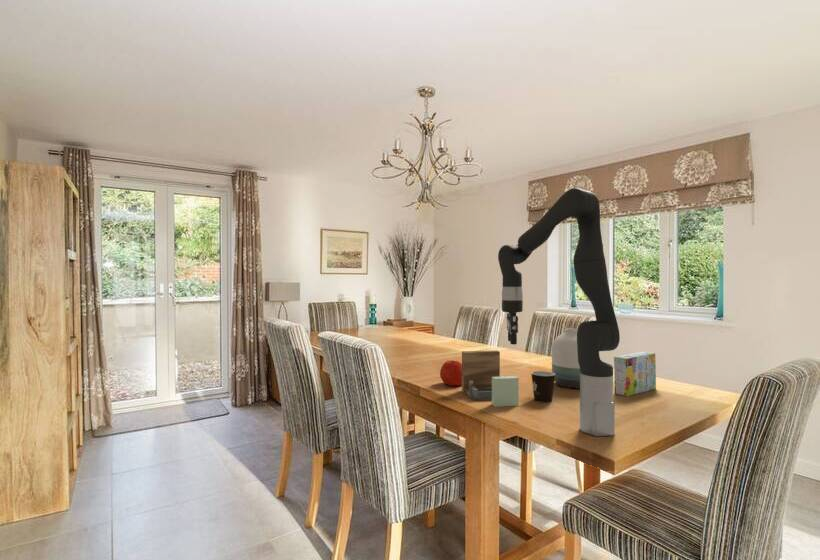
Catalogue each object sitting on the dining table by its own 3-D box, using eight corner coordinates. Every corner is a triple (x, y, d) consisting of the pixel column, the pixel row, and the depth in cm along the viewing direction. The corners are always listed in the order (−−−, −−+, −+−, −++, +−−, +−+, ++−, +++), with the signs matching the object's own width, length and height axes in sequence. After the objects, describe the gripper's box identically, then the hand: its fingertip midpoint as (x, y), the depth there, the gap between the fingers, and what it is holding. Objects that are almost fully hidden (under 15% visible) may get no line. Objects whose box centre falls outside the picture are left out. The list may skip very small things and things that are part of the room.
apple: (435, 384, 189) (435, 359, 189) (452, 380, 197) (452, 356, 197) (453, 389, 181) (453, 363, 181) (470, 384, 189) (470, 360, 189)
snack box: (643, 386, 186) (643, 351, 186) (656, 389, 181) (656, 352, 181) (613, 393, 174) (613, 355, 174) (626, 397, 170) (626, 358, 170)
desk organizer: (510, 398, 167) (510, 356, 167) (472, 400, 165) (472, 357, 164) (497, 389, 181) (497, 350, 181) (461, 390, 179) (461, 351, 179)
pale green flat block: (518, 405, 159) (518, 377, 158) (494, 406, 157) (494, 378, 157) (515, 403, 162) (515, 376, 161) (491, 404, 160) (491, 376, 160)
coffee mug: (556, 403, 160) (556, 376, 160) (532, 402, 162) (532, 375, 162) (552, 395, 172) (552, 369, 172) (529, 394, 174) (530, 368, 173)
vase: (566, 391, 177) (566, 332, 177) (544, 381, 194) (544, 327, 193) (603, 389, 181) (603, 331, 181) (578, 379, 198) (578, 326, 197)
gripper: (525, 300, 155) (525, 345, 156) (520, 298, 170) (520, 340, 170) (503, 299, 156) (503, 345, 156) (500, 298, 171) (500, 339, 171)
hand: (512, 342), depth 163 cm, fingers open, 8 cm apart
